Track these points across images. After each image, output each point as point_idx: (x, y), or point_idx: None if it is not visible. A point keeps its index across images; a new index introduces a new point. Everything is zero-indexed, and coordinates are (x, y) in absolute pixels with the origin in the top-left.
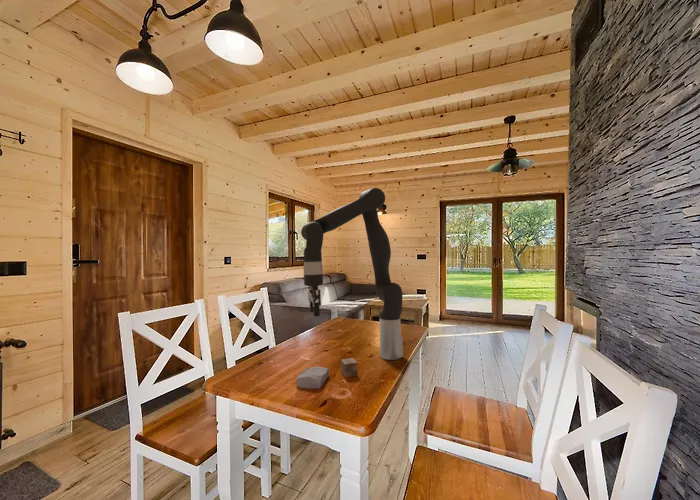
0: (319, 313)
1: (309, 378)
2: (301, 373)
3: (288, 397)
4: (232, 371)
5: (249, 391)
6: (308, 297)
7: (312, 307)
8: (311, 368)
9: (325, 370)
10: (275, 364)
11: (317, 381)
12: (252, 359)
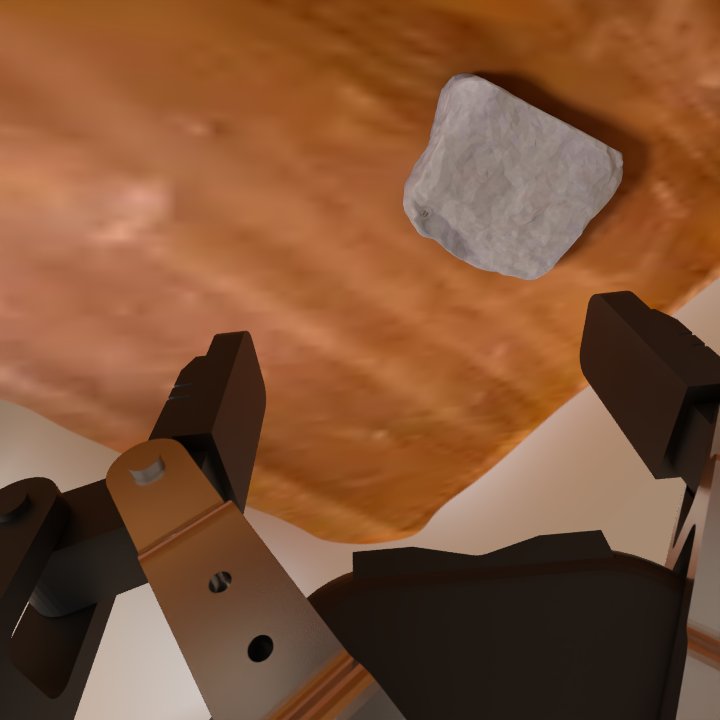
0: (643, 306)
1: (590, 219)
2: (459, 253)
3: None
4: (293, 505)
5: (498, 432)
6: (51, 636)
7: (244, 418)
8: (441, 198)
9: (509, 105)
10: None
11: (622, 172)
12: None
